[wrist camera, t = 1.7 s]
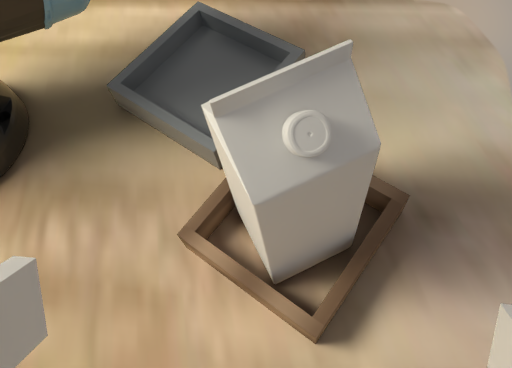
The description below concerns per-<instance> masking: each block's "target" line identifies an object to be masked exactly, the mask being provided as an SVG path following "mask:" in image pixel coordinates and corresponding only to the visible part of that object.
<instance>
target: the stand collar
mask: <svg viewBox="0 0 512 368" xmlns="http://www.w3.org/2000/svg"><path fill="white" fill-rule="evenodd" d="M409 196H410V195H408V194H406V193H404V192H402V191H401V190H399V189H397V188H395V187H393V186H392V185H390V184H388V183H386V182H384V181H382V180H381V179H379V178H377V177H375V176H373V175H372V178H371V182H370V185H369V188H368V192H367V195H366V199H365V203H367V204H368V205H370V206H372V207H374V208H375V209H377V210H379V211H380V212H382V214H381V215H380V217H379V218H378V220H377V221H376V223H375V224H374V226H373V227H372V229H371V230H370V232H369V233H368V235H367V236H366V238H365V239H364V241H363V242H362V244H361V245H360V247H359V248H358V250H357V251H356V253H355V254H354V255H353V257H352V258H351V260H350V261H349V263H348V264H347V266H346V267H345V269H344V270H343V272H342V273H341V275H340V276H339V278H338V279H337V281H336V282H335V284H334V285H333V287H332V288H331V290H330V291H329V293H328V294H327V296H326V297H325V299H324V300H323V302H322V303H321V305H320V306H319V308H318V309H317V311H316V312H315V314H314V315H313V317H312V316H310V315H309V314H308V313H306V312H305V311H303V310H302V309H301V308H299V307H298V306H297V305H295V304H294V303H292V302H291V301H290V300H288V299H287V298H285V297H284V296H283V295H281V294H280V293H279V292H277V291H276V290H274V289H273V288H272V287H270V286H269V285H268V284H266V283H265V282H263V281H262V280H261V279H259V278H258V277H257V276H255V275H254V274H252V273H251V272H250V271H248V270H247V269H246V268H244V267H243V266H241V265H240V264H239V263H237V262H236V261H235V260H233V259H232V258H230V257H229V256H228V255H226V254H225V253H223V252H222V251H221V250H219V249H218V248H217V247H215V246H214V245H212V244H211V243H210V242H208V241H207V239H208V238H209V236H210V235H211V234H212V233H213V232H214V230H215V229H216V228H217V227H218V226H219V224H220V223H221V222H222V221H223V220H224V218H225V217H226V216H227V215H228V213H229V212H230V211H231V210H232V209H233V207H234V206H235V205H236V204H235V202H234V199H233V196H232V193H231V190H230V187H229V184H228V181H227V179H226V178H225V179H224V180H223V182H222V183H221V184H220V185H219V186H218V187H217V188H216V190H215V191H214V192H213V193H212V194H211V195H210V197H209V198H208V199H207V200H206V201H205V202H204V204H203V205H202V206H201V207H200V208H199V209H198V211H197V212H196V213H195V214H194V215H193V216H192V218H191V219H190V220H189V221H188V222H187V223H186V225H185V226H184V227H183V228H182V229H181V230H180V232H179V233H178V234H177V235H178V237H179V238H180V239H181V241H182V242H183V243H184V245H185V246H186V247H187V248H188V249H189V250H191V251H192V252H193V253H195V254H196V255H197V256H199V257H200V258H201V259H203V260H204V261H205V262H207V263H208V264H209V265H211V266H212V267H213V268H215V269H216V270H217V271H219V272H220V273H221V274H223V275H224V276H225V277H227V278H228V279H229V280H231V281H232V282H233V283H235V284H236V285H237V286H239V287H240V288H241V289H243V290H244V291H245V292H247V293H248V294H249V295H251V296H252V297H253V298H255V299H256V300H257V301H259V302H260V303H261V304H263V305H264V306H265V307H267V308H268V309H269V310H271V311H272V312H273V313H275V314H276V315H277V316H279V317H280V318H281V319H283V320H284V321H285V322H287V323H288V324H289V325H291V326H292V327H293V328H295V329H296V330H297V331H299V332H300V333H301V334H303V335H304V336H305V337H307V338H308V339H309V340H311V341H312V342H313V343H315V344H316V343H317V341H318V340H319V338H320V336H321V335H322V333H323V332H324V330H325V329H326V327H327V326H328V324H329V323H330V321H331V320H332V318H333V317H334V315H335V313H336V312H337V310H338V309H339V307H340V306H341V304H342V303H343V301H344V300H345V298H346V297H347V295H348V294H349V292H350V290H351V289H352V287H353V286H354V284H355V283H356V281H357V280H358V278H359V277H360V275H361V274H362V272H363V271H364V269H365V267H366V266H367V264H368V263H369V261H370V260H371V258H372V257H373V255H374V254H375V252H376V251H377V249H378V247H379V246H380V244H381V243H382V241H383V240H384V238H385V237H386V235H387V234H388V232H389V231H390V229H391V228H392V226H393V224H394V223H395V221H396V220H397V218H398V217H399V215H400V214H401V212H402V210H403V208H404V206H405V204H406V202H407V200H408V198H409Z"/></svg>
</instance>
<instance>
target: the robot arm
mask: <svg viewBox="0 0 512 368" xmlns="http://www.w3.org/2000/svg"><path fill="white" fill-rule="evenodd" d="M89 2H90V0H0V42H2V41H5V40H9V39H12V38H15V37H18V36H21V35H24V34H27V33H30V32H34V31H37V30H40V29H43V28H44V29H49V28H50V27H51V26H52V24H54V23H56V22H59V21H62V20H64V19H67V18H69V17H72V16H74V15H77V14H79V13H81V12H82V11H84V10H85V9H86V7H87V5H88V4H89ZM28 126H29V119H28V113H27V110H26V107H25V105H24V104H23V102H22V101H21V99H20V98H19V97H18V96H17V95H16V94H15V93H14V92H13V91H12V90H11V89H10V88H9V87H8V86H7V85H6V84H5V83H3V82H2V81H1V80H0V177H1V176H2V175H3V174H4V173H5V172H6V171H7V170H8V168H9V167H10V166H11V165H12V163H13V162H14V161H15V159H16V158H17V156H18V155H19V153H20V151H21V149H22V147H23V145H24V143H25V140H26V137H27V133H28ZM46 336H48V334H47V328H46V321H45V314H44V308H43V301H42V295H41V288H40V282H39V275H38V269H37V262H36V258H30V257H20V256H12V257H11V258H9V259H7V260H6V261H4V262H3V263H1V264H0V368H15V367H16V366H17V365H18V364H19V363H20V362H21V361H22V360H23V359H24V358H25V357H26V356H27V355H28V354H29V353H30V352H31V351H32V350H33V349H34V348H35V347H36V346H37V345H38V344H39V343H40V342H41V341H42V340H43V339H44V338H45V337H46ZM487 368H512V304H501V303H500V308H499V312H498V317H497V322H496V327H495V332H494V336H493V341H492V346H491V351H490V355H489V360H488V365H487Z"/></svg>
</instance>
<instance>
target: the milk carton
mask: <svg viewBox="0 0 512 368" xmlns="http://www.w3.org/2000/svg"><path fill="white" fill-rule="evenodd" d="M352 47H353V41H352V40H351V39H349V40H347V41H344V42H342V43H340V44H338V45H335V46H333V47H331V48H328V49H326V50H324V51H321V52H319V53H317V54H314V55H312V56H310V57H307V58H305V59H303V60H301V61H298V62H296V63H294V64H291V65H289V66H287V67H284V68H282V69H280V70H277V71H275V72H273V73H270V74H268V75H266V76H264V77H261V78H259V79H257V80H254V81H252V82H250V83H247V84H245V85H243V86H240V87H238V88H236V89H233V90H231V91H229V92H227V93H224V94H222V95H220V96H217V97H215V98H213V99H210V100H209V101H208V102H206V103H204V104H202V105H201V107H202V109H203V112H204V115H205V118H206V121H207V124H208V127H209V130H210V132H211V135H212V138H213V141H214V144H215V147H216V150H217V153H218V155H219V158H220V161H221V164H222V167H223V170H224V173H225V176H226V179H227V181H228V184H229V187H230V190H231V193H232V196H233V199H234V202H235V204H236V207H237V210H238V213H239V215H240V217H241V219H242V221H243V223H244V225H245V227H246V229H247V231H248V233H249V235H250V237H251V239H252V241H253V243H254V245H255V247H256V249H257V251H258V253H259V255H260V257H261V259H262V261H263V263H264V265H265V267H266V269H267V271H268V273H269V275H270V277H271V279H272V281H273V283H274V284H277V283H280V282H282V281H284V280H286V279H288V278H290V277H292V276H294V275H296V274H298V273H300V272H302V271H304V270H306V269H308V268H310V267H312V266H314V265H316V264H318V263H320V262H322V261H324V260H326V259H328V258H330V257H332V256H334V255H336V254H338V253H340V252H342V251H344V250H346V249H348V248H350V247H351V246H352V244H353V240H354V237H355V233H356V230H357V227H358V223H359V220H360V216H361V213H362V209H363V206H364V202H365V199H366V195H367V192H368V188H369V185H370V182H371V178H372V175H373V171H374V168H375V164H376V161H377V157H378V154H379V150H380V145H381V142H380V139H379V136H378V133H377V130H376V127H375V125H374V122H373V119H372V116H371V113H370V110H369V108H368V105H367V102H366V99H365V96H364V93H363V90H362V88H361V85H360V82H359V79H358V76H357V73H356V70H355V68H354V65H353V62H352V59H351V55H352Z"/></svg>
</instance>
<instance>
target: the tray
mask: <svg viewBox="0 0 512 368" xmlns="http://www.w3.org/2000/svg"><path fill="white" fill-rule="evenodd" d="M303 59H305V50H303V49H301V48H299V47H297V46H295V45H293V44H290V43H288V42H286V41H284V40H282V39H279V38H277V37H275V36H273V35H271V34H268V33H266V32H264V31H262V30H260V29H257V28H255V27H253V26H251V25H249V24H247V23H244V22H242V21H240V20H238V19H236V18H233V17H231V16H229V15H227V14H225V13H222V12H220V11H218V10H216V9H214V8H211V7H209V6H207V5H205V4H203V3H201V2H197V3H196V4H195V5H194V6H192V7H191V8H190V9H189V10H188V11H187V12H186V13H185V14H184V15H183V16H182V17H180V18H179V19H178V20H177V21H176V22H175V23H174V24H173V25H172V26H171V27H170V28H168V29H167V30H166V31H165V32H164V33H163V34H162V35H161V36H160V37H159V38H158V39H156V40H155V41H154V42H153V43H152V44H151V45H150V46H149V47H148V48H147V49H146V50H144V51H143V52H142V53H141V54H140V55H139V56H138V57H137V58H136V59H135V60H134V61H132V62H131V63H130V64H129V65H128V66H127V67H126V68H125V69H124V70H123V71H122V72H120V73H119V74H118V75H117V76H116V77H115V78H114V79H113V80H112V81H111V82H110V83H108V84H107V85H106V86H107V88H108V89H109V91H110V93H111V94H112V96H113V97H114V99H115V101H116V102H117V104H118V105H119V106H121V107H122V108H124V109H125V110H127V111H129V112H130V113H132V114H133V115H135V116H136V117H138V118H140V119H141V120H143V121H144V122H146V123H147V124H149V125H151V126H152V127H154V128H155V129H157V130H158V131H160V132H162V133H163V134H165V135H166V136H168V137H170V138H171V139H173V140H174V141H176V142H177V143H179V144H181V145H182V146H184V147H185V148H187V149H188V150H190V151H192V152H193V153H195V154H196V155H198V156H199V157H201V158H203V159H204V160H206V161H207V162H209V163H210V164H212V165H214V166H215V167H217V168H218V169H221V167H222V164H221V161H220V158H219V155H218V153H217V150H216V147H215V144H214V141H213V138H212V135H211V132H210V130H209V127H208V124H207V121H206V118H205V115H204V112H203V109H202V107H201V105H202V104H204V103H206V102H208V101H209V100H210V99H213V98H215V97H217V96H220V95H222V94H224V93H227V92H229V91H231V90H233V89H236V88H238V87H240V86H243V85H245V84H247V83H250V82H252V81H254V80H257V79H259V78H261V77H264V76H266V75H268V74H270V73H273V72H275V71H277V70H280V69H282V68H284V67H287V66H289V65H291V64H294V63H296V62H298V61H301V60H303Z"/></svg>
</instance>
